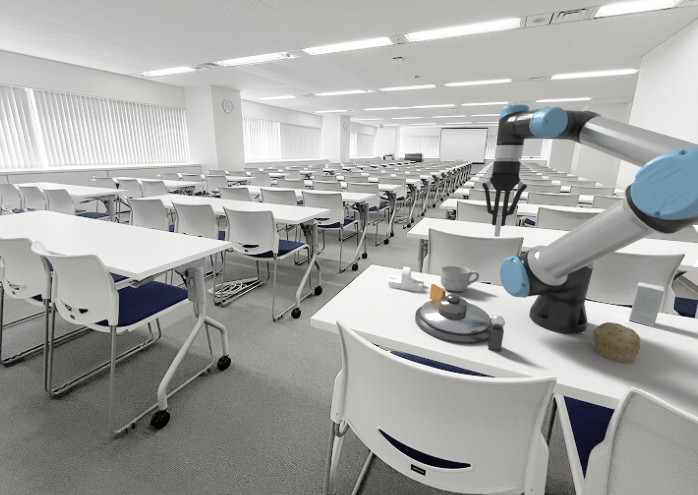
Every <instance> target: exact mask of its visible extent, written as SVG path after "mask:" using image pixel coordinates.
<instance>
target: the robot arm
mask: <svg viewBox="0 0 698 495" xmlns="http://www.w3.org/2000/svg"><path fill="white" fill-rule="evenodd" d="M537 139H539V140H540V139H541V140H566V141H567V140H568V141H572V142H575V143H577V144H581V145H584V146H585V147H586V146H587V147H588V148H591V149H593V150H596V151H598V152H601V153H604V154H606V155H609V156H611V157H614V158H616V159H619V160H621V161H624V162H626V163H629V164H632V165H634V166H637V167H640V169H638V171H637V172H636V173H635V176H634V178H635V179H634V181H633V182H632V183H631V184H629V185H628V186H626V187H625V189H624V192H623V198H622V199H620V200H619V201H617V202H615V203H613V204H612V205H610V206H609V207H607V208H605V209H604V210H603V211H601V212H599V213H598V214H596V215H594V216H593V217H592V218H590V219H588V220H586V221H585V222H583V223H581V224H580V225H579V226H577V227H575V228H574V229H572V230H570V231H569V232H567V233H565V234H564V235H562V236H561V237H559V238H557V239H556V240H553V241H552V242H551V243H549V244H548V245H536V246H534V247H531V248H530V249H528V250H527V251H525V252H524V253H522V254H520V255H511V256H507V257H505V258H504V259H503V260H502V262H501V263H500V266H499V279H500V282H501V284H502V286H503V289H504V290H505V291H506V293H508V294H509V295H511V296H512V297H515V298H523V299H524V298H527V297H528V298H529V297H535V296H537V297H536V299H535V300H534V302H533V304H532V306H531V307H530V310H529V314H528V315H529V316H528V317H529V318H530V320H531V321H532V322H534V323H535V324H537V325H538V326H540V327H543V328H545V329H548V330H549V331H553V332H556V333H557V332H558V333H562V334H569V335H570V334H571V335H572V334H573V335H575V334H581V333H583V332H585V331H587V327H588V317H587V312H586V304H585V303H586V297H587V295H588V290H589V286H590V283H591V282H590V281H591V277H592V273H593V271H594V262H596V261H598V260H601V259H603V258H605V257H606V256H609V255H611V254H613V253H615V252H617V251H619V250H621V249H624V248H625V247H628V246H630V245H632V244H634V243H636V242H638V241H640V240H642V239H644V238H647V237H648V236H650V235H653V234H655V233H657V234H661V235H673V234H675V233H677V232H679V231H681V230H684V229H686V228H688V227H690V226H693V225H694V224H696V223H698V144H697V143H694V142H690V141H687V140H683V139H680V138H677V137H674V136H670V135H666V134H664V133H659V132H656V131H652V130H650V129H647V128H646V129H645V128H642V127H639V126H635V125H632V124H629V123H625V122H622V121H618V120H615V119H612V118H608V117H604V116H602V115H601V114H600V113H598V112H594V111H591V110H590V111H589V110H569V109H568V110H566V109H563V108H562V107H559V106H552V107H549V106H546V107H543V108H537V109H531V110H530V107H529V105H527V104H523V103H521V104H509V105H508V104H507V105H505V106H503V107H502V108H501V109H500V113H499V118H498V126H497V135H496V142H495V143H496V144H495V151H494V152H495V153H494V159H495V160H494V161H493V163H492V164H493V165H492V166H493V167H492V173H491V175H490V177H489V180H487V181H483V182H482V183H481V185H482V188H483V190H484V194H485V202H486V210H487V213H488V214H490V215H492V219H491V225H492V226H494V230H493V236H494V237H500V235H501V228H502V227H505V226H506V221H507V217H508V216H512V215H513V214H514V212H515V210H516V208H517V205H518V203H519V201H520V199H521V196H522V193H523V192H524V191H525V190H526V189H527V188H528V185H527V184H525V183H523V182H522V181H521V178H520V171H521V161H520V160H522V158H523V151H524V145H525V143H524V142H525V140H537ZM491 185H492V187H493V188H494V190H495V197H494V198H495V199H494V202H493V203H494V204H493V209H492V202H491V195H490V189H489V188H490V187H491ZM516 186H517V190H516V192H515V195H514V196H513V200H512V201H511V204H510V207H509V200H510V195H511V191H513V189H514V188H515V187H516ZM503 191H504V195H503V202H502V208H501V209H502V211H501V214H498V213H499V207H500V199H501V193H502V192H503ZM508 208H509V209H508Z"/></svg>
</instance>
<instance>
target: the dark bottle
mask: <svg viewBox="0 0 698 495" xmlns="http://www.w3.org/2000/svg"><path fill="white" fill-rule="evenodd" d="M491 323H492V324H491V325H490V332H489V339H488V340H487V350H490V351H493V352H494V351H495V352H498V353H499V352H501V350H502V346H503V338H504V335H505V334H504V333H505V332H504V331H505V330H504V326H505V324H506V321H505V319H504V317H503V316H501V315H495V316H493V317H492V318H491Z"/></svg>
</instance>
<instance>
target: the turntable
mask: <svg viewBox="0 0 698 495" xmlns="http://www.w3.org/2000/svg"><path fill="white" fill-rule="evenodd" d="M429 292H430V293H429V299H430V300H429V301H427V302H425V303H423V304H422V305H421V306H422V307H421V306H420V307H421V313H420V315H421V319H422V320H423V321H424V322H425V323H426V324H427V325H428V326H430V327H432V328H433V329H436V330H438V331H441V332H444V333H447V334H452V335H459V336H472V335H478V334H481V333H484V332H485V331H487V330H488V328H489V324H490V318H491V317H490V315H489V314H488V313H487V312H486V311H485V310H484V309H483V308H481V307H479V306H478V305H475V304H472V303H469V302H467V303H468V304H467V312H466V317H465V318H464V319H461V320H451V319H447V318H444V317H442V316H441V315H440V314H439V312H438V311H439V301H440V298H441V297H444V296H446V293H447V290H446V289H444V288H441V287H440V286H438V285H437V284H435V283H434V284H433V283H431V284H430V290H429Z"/></svg>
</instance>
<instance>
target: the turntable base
mask: <svg viewBox="0 0 698 495" xmlns="http://www.w3.org/2000/svg"><path fill="white" fill-rule="evenodd" d="M421 307H422V305H421V306H419V307H418V308H417V310H416V311H415V316H414V319H415V320H414V321H415V323H416V325H417V327H419V329H420V330H422V331H423V332H424V333H426V334H428V335H430V336H431V337H433V338H437V339H439V340H441V341H445V342H448V343H455V344H461V345H463V344H467V345H468V344H470V345H471V344H473V345H474V344H478V343H479V344H480V343H483V342H486V341H488V339H489V332H490V325H491V324H492V323H491V319H492V318H491V317H490V324H489V328H488V330H487V331H485V332H484V333H481V334H478V335H472V336H459V335H452V334H447V333H444V332H441V331H438V330H436V329H433V328H432V327H430V326H428V325H427V324H426V323H425V322H424V321H423V320H422V319H421V315H420V313H421Z"/></svg>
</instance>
